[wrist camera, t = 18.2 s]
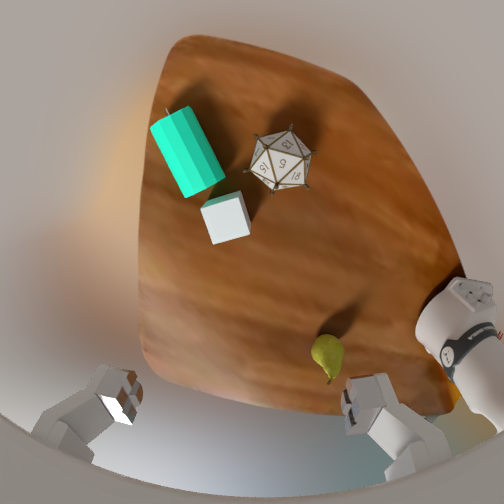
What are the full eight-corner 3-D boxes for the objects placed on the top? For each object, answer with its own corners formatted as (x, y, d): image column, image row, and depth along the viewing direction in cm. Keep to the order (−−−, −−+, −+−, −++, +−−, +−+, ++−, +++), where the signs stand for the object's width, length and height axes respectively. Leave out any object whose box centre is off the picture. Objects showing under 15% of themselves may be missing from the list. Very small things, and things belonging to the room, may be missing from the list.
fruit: (337, 347, 48) (352, 394, 37) (308, 351, 49) (318, 399, 38) (340, 324, 46) (358, 372, 35) (309, 328, 47) (321, 378, 35)
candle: (232, 172, 36) (194, 97, 32) (215, 184, 31) (171, 96, 26) (197, 189, 38) (161, 118, 34) (177, 202, 33) (136, 122, 29)
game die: (287, 103, 31) (343, 158, 31) (256, 143, 38) (305, 191, 38) (247, 119, 26) (316, 188, 26) (217, 167, 32) (273, 224, 33)
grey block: (240, 190, 37) (238, 197, 33) (250, 222, 39) (249, 234, 35) (207, 200, 38) (200, 208, 34) (218, 232, 40) (213, 244, 35)
